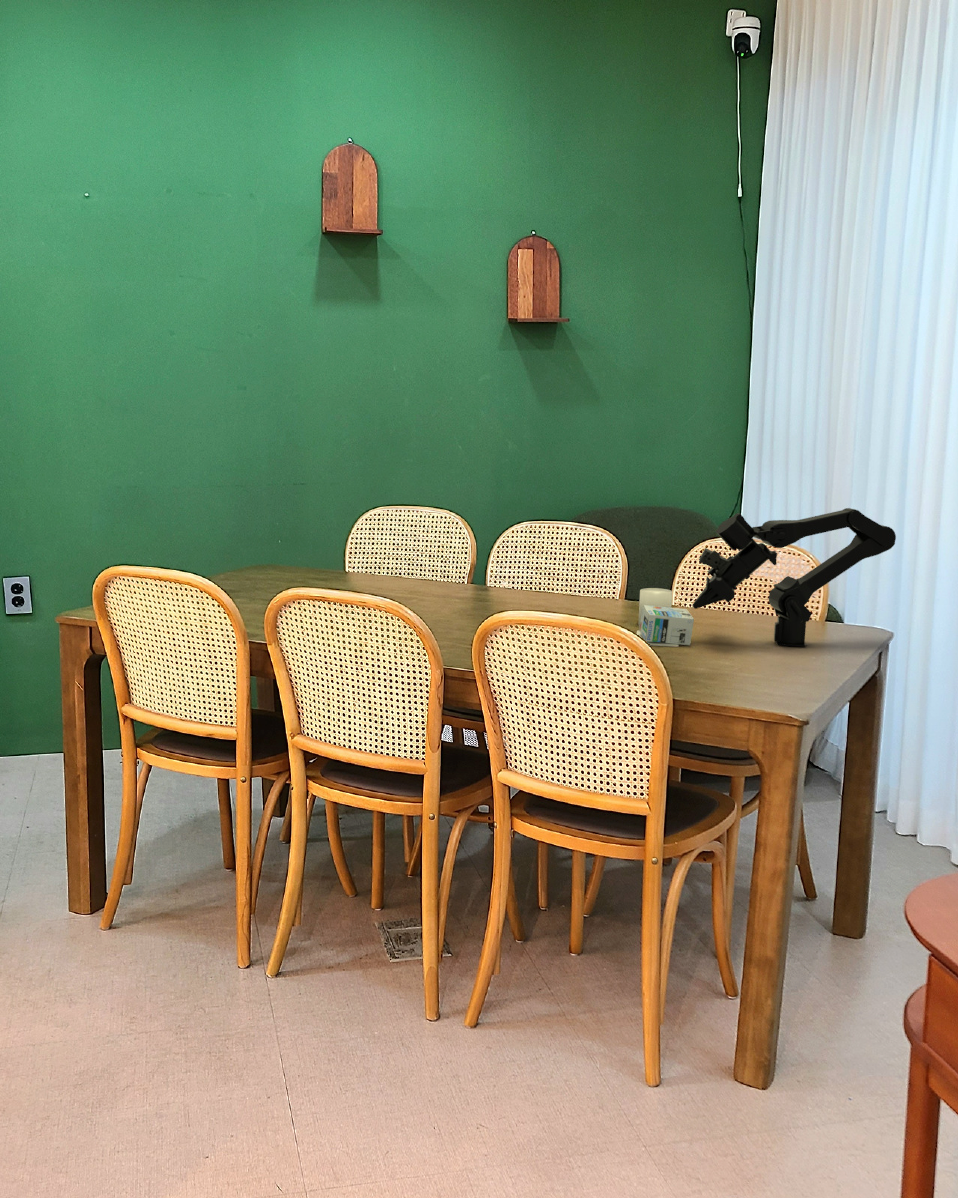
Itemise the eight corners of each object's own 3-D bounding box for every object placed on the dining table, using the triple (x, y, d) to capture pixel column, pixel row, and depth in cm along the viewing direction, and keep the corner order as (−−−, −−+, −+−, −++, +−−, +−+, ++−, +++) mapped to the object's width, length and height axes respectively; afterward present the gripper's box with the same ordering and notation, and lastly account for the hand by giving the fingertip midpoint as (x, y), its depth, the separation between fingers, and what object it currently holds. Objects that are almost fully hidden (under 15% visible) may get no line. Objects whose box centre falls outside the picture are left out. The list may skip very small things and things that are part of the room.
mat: (678, 634, 268) (678, 632, 268) (678, 646, 254) (678, 645, 254) (637, 632, 269) (637, 630, 269) (634, 644, 256) (634, 642, 256)
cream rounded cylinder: (670, 623, 281) (672, 588, 279) (670, 629, 273) (672, 594, 271) (639, 621, 282) (640, 587, 280) (637, 628, 274) (639, 592, 273)
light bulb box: (694, 618, 253) (648, 613, 253) (690, 646, 255) (644, 642, 255) (686, 608, 264) (642, 604, 264) (682, 635, 265) (638, 631, 265)
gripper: (719, 533, 264) (670, 575, 268) (723, 542, 246) (670, 588, 250) (750, 567, 264) (701, 609, 268) (756, 579, 246) (703, 624, 250)
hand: (693, 607), depth 259 cm, fingers closed
